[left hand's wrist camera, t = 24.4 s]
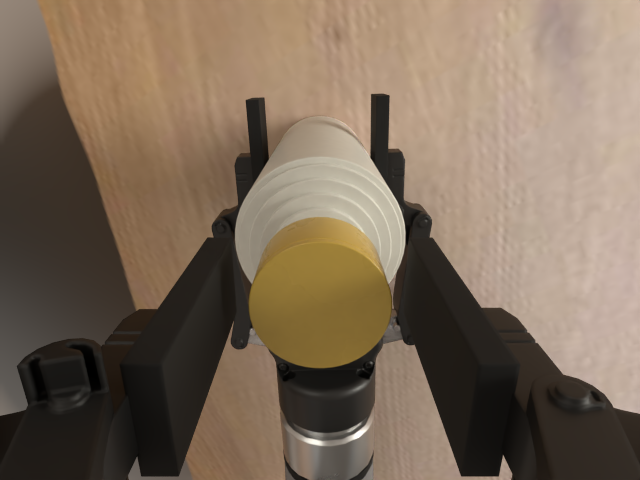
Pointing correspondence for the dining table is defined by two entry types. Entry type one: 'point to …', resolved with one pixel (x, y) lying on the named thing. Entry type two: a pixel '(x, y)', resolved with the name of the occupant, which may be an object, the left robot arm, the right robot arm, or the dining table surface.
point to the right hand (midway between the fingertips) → (317, 97)
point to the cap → (320, 294)
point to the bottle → (320, 193)
